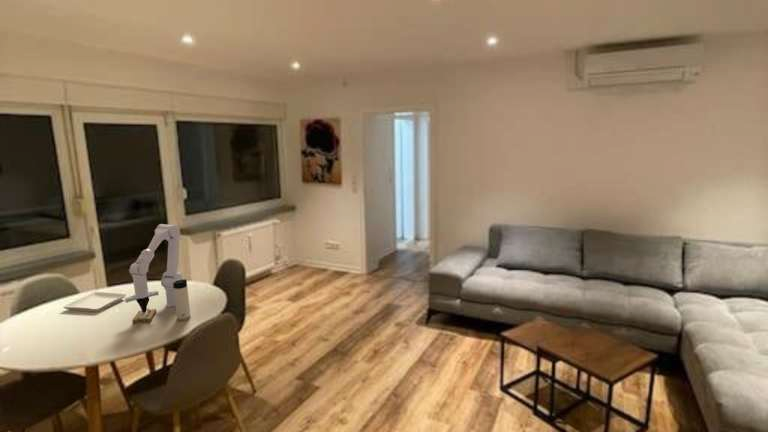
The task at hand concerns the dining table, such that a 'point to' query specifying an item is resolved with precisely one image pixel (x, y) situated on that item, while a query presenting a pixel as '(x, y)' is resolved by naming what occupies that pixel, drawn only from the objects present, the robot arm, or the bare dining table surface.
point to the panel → (148, 319)
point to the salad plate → (95, 301)
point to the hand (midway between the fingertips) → (144, 312)
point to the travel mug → (181, 300)
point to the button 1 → (142, 316)
